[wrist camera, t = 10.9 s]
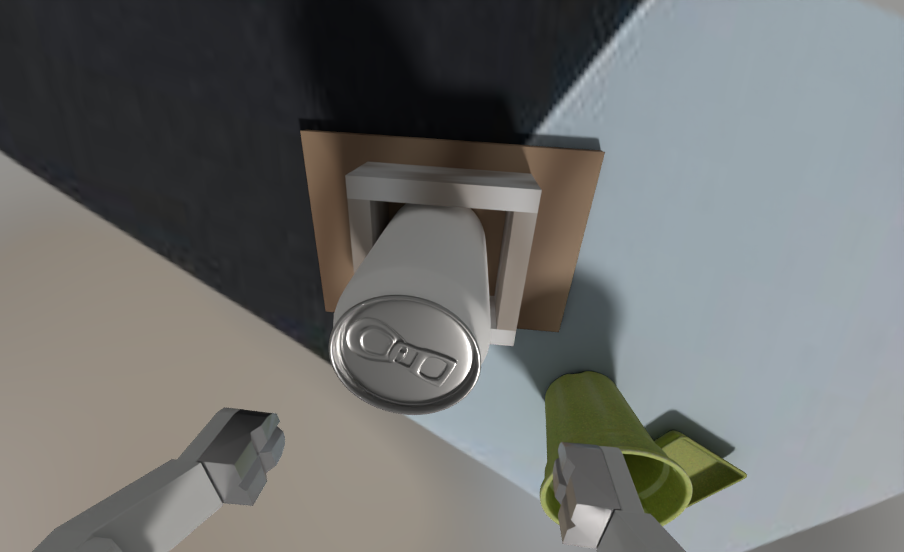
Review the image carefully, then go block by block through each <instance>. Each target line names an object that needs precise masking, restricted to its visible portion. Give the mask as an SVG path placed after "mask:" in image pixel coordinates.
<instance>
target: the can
mask: <svg viewBox="0 0 904 552" xmlns="http://www.w3.org/2000/svg"><path fill="white" fill-rule="evenodd" d="M333 327H334V328H333V330H332V332H331V335H330V340H329V357H330V361H331V364H332V367H333V369H334V371H335V373H336V375H337V377H338V378H339V379H340V381H341V382H342V383H343V384H344V386H345V387H346V388H347V389H348V390H349V391H350V392H352V393H353V394H354V395H355V396H357V397H358V398H359V399H361V400H363V401H364V402H366V403H368V404H370V405H372V406H374V407H376V408H380V409H382V410H385V411H389V412H393V413H398V414H406V415H422V414H430V413H434V412H438V411H442V410H444V409H447V408H449V407H451V406H453V405H455V404H457V403H458V402H460V401H461V400H462V399H463V398H465V397H466V396H467V395H468V394H469V393H470V391H471V390H472V389H473V387H474V386H475V384H476V382H477V380H478V377H479V374H480V369H481V365H482V363H483V361H484V359H485V357H486V355H487V352H488V349H489V344H490V336H491V321H490V301H489V283H488V267H487V252H486V240H485V233H484V230H483V227H482V224H481V222H480V220H479V218H478V217H477V215H476V214H475V213H474V212H473V210H472V209H471V208H464V207H451V206H438V205H425V204H413V203H406V204H405V205H404V206H403V207H401V208H400V209H399V210H398V212H397V213H396V214H395V216H394V217H393V218H392V220H391V221H390V223H389V224H388V225H387V227H386V228H385V230H384V231H383V233H382V234H381V236H380V237H379V238H378V240H377V241H376V243H375V244H374V246H373V247H372V249H371V250H370V252H369V253H368V255H367V256H366V258H365V259H364V261H363V262H362V264H361V265H360V266H359V268H358V269H357V271H356V272H355V274H354V275H353V277H352V278H351V280H350V282H349V283H348V285H347V286H346V288H345V290H344V291H343V293H342V295H341V296H340V299H339V301H338V303H337V306H336V309H335V313H334V323H333Z"/></svg>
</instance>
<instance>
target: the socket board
mask: <svg viewBox="0 0 904 552" xmlns="http://www.w3.org/2000/svg"><path fill="white" fill-rule="evenodd" d="M300 132H301V139H302V146H303V153H304V160H305V167H306V175H307V182H308V189H309V196H310V203H311V210H312V217H313V224H314V231H315V238H316V245H317V252H318V260H319V267H320V274H321V281H322V288H323V295H324V302H325V309H326V311H328V312H335V309H336V306H337V303H338V301H339V299H340V296H341V295H342V293H343V291H344V290H345V288H346V286H347V285H348V283H349V282H350V280H351V278H352V277H353V275H354V274H355V272H356V271H357V269H358V268H359V266H360V265H361V264H362V262H363V261H364V259H365V258H366V256H367V255H368V253H369V252H370V250H371V249H372V247H373V246H374V244H375V243H376V241H377V240H378V238H379V237H380V236H381V234H382V233H383V231H384V230H385V228H386V227H387V225H388V224H389V223H390V221H391V220H392V218H393V217H394V216H395V214H396V213H397V212H398V210H399V209H400V208H401V207H403V206H404V205H405V204H406V203H413V204H425V205H438V206H451V207H464V208H471V209H472V210H473V212H474V213H475V214H476V215H477V217H478V218H479V220H480V222H481V224H482V227H483V230H484V233H485V240H486V252H487V267H488V283H489V301H490V321H491V336H490V344H495V345H506V346H513V345H514V340H515V334H516V329H529V330H540V331H551V332H559V329H560V325H561V321H562V318H563V314H564V310H565V306H566V302H567V298H568V294H569V290H570V286H571V282H572V279H573V275H574V271H575V267H576V263H577V259H578V255H579V251H580V247H581V243H582V240H583V236H584V232H585V228H586V224H587V220H588V216H589V212H590V208H591V204H592V201H593V197H594V193H595V189H596V185H597V181H598V177H599V173H600V169H601V165H602V162H603V158H604V154H605V152H603V151H601V150H587V149H573V148H559V147H545V146H530V145H516V144H502V143H488V142H473V141H459V140H445V139H431V138H416V137H402V136H388V135H374V134H359V133H345V132H331V131H317V130H302V131H300Z"/></svg>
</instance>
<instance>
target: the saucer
mask: <svg viewBox="0 0 904 552" xmlns="http://www.w3.org/2000/svg"><path fill="white" fill-rule="evenodd" d="M654 443H655V444H657V445H658V446H659V447H660V448H661V449H662V450H663V451H664V452H665V453H666V454H667V456H668V457H669V458H671V459H672V460H674V461H675V462H677V463H678V464H679V465H680V466H681V467H682V468H683V469H684V470H685V472H686V473H687V475H688V476H689V478H690V481H691V483H692V491H693V492H692V497H691V500H690V502H689V504H688V505H687V507H689V506H691V505H693V504H695V503H697V502H699V501H701V500H703V499H705V498H707V497H709V496H711V495H713V494H715V493H717V492H719V491H721V490H723V489H725V488H727V487H729V486H731V485H733V484H735V483H737V482H739V481H741V480H743V479H745V478H746V477H747V474H746V473H745V472H743V471H742V470H740V469H738V468H737V467H735V466H733V465H732V464H730V463H729V462H727V461H726V460H724V459H722V458H721V457H719V456H717V455H716V454H714V453H713V452H711V451H709V450H708V449H706V448H705V447H703V446H701V445H700V444H698V443H697V442H695V441H693V440H692V439H690V438H689V437H687V436H685V435H684V434H682V433H680V432H677V431H669V432H668V433H666V434H664V435H663V436H661V437H660V438H658V439H657V440H655V441H654ZM687 507H686V508H687Z"/></svg>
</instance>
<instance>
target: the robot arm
mask: <svg viewBox="0 0 904 552" xmlns="http://www.w3.org/2000/svg"><path fill="white" fill-rule="evenodd" d="M279 422H280V421H279V418H278V416H277V414H274V413H267V412H258V411H250V410H243V409H233V408H223V409H221V410H220V411H218V412H217V413H216V414H215V416H214V417H213V418H212V419H211V420H210V422H209V423H208V424H207V425H206V426H205V427H204V428H203V430H202V431H201V432H200V433H199V434H198V436H197V437H196V438H195V439H194V440H193V441H192V443H191V444H190V445H189V446H188V447H187V448H186V450H185V451H184V452H183V453H182V454H181V456H180V457H179V458H178V459H177V460H174V459H172V460H170V461H168V462H166V463H165V464H163V465H161V466H160V467H158V468H157V469H155V470H153V471H151V472H149V473H148V474H146V475H145V476H143V477H141V478H140V479H138V480H136V481H135V482H133V483H131V484H129V485H128V486H126V487H124V488H123V489H121V490H119V491H118V492H116V493H114V494H113V495H111V496H109V497H108V498H106V499H104V500H103V501H101V502H99V503H98V504H96V505H94V506H92V507H91V508H89V509H87V510H86V511H84V512H82V513H81V514H79V515H77V516H76V517H74V518H72V519H71V520H69V521H67V522H66V523H64V524H62V525H61V526H59V527H57V528H56V529H54V531H52V532H51V533H50V534H49V535H48V536H47V537H46V538H45V539H44V540H43V541H42V542H41V544H39V545H38V546H37V547H36V548H35V549H34V550H33V551H32V552H169V551H170V550H171V549H173V548H174V547H175V546H176V545H177V544H178V543H180V542H181V541H182V540H183V539H184V538H185V537H186V536H188V535H189V534H190V533H191V532H192V531H193V530H195V529H196V528H197V527H198V526H199V525H200V524H202V523H203V522H204V521H205V520H206V519H207V518H209V516H211V515H212V514H213V513H214V512H215V511H217V510H218V509H219V508H220V507H221V506H222V505H223V503H228V504H239V505H250V506H253V505H254V503H255V501H256V500H257V498H258V496H259V494H260V493H261V491H262V489H263V487H264V486H265V484H266V482H267V475H266V473H267V472H268V471H269V470H271V469H272V468H273V467H275V466H276V465H277V462H278V461H279V459H280V457H281V455H282V452H283V449H284V445H285V436H284V433H283V431H282V430H281V429H280V428H278V427H277V425H278V423H279ZM558 454H559V458H558V459H556V460H555V462H554V467H553V487H554V494H555V498H556V499H557V500H558V502H559V503H560V504H561V506H560V510H559V513H558V519H559V525H560V530H561V537H562V542H563V544H568V545H574V546H581V547H587V548H594V549H597V552H686V551H685V550H684V549H683V548H682V547H681V546H680V545H679V544H678V543H677V541H676V540H675V539H674V538H673V537H672V536H671V535H670V534H669V533H668V532H667V531H666V530H665V529H664V528H663V527H662V525H661V524H660V523H659V522H658V521H657V520H656V519H655V518H654V517H653V516H652V515H651V514H647V513H644V510H643V507H642V505H641V502H640V499H639V497H638V494H637V491H636V489H635V486H634V483H633V481H632V478H631V475H630V473H629V470H628V467H627V465H626V462H625V459H624V457H623V454H622V452H621V450H620V449H619V448H617V447H607V446H598V445H591V444H580V443H568V442H561V443H560V444H559V448H558Z"/></svg>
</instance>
